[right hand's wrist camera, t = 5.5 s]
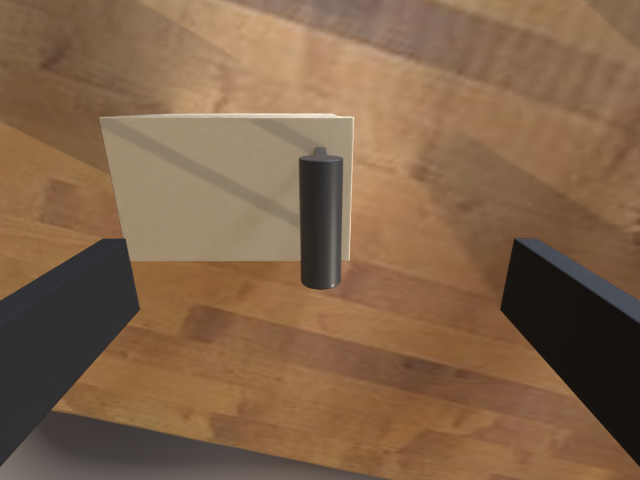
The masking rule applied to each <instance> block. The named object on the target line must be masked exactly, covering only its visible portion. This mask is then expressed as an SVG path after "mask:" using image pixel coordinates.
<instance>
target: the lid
mask: <svg viewBox="0 0 640 480" xmlns="http://www.w3.org/2000/svg"><path fill="white" fill-rule="evenodd" d="M99 121H100V126H101V130H102V135H103V140H104V145H105V150H106V155H107V160H108V165H109V170H110V175H111V180H112V185H113V190H114V195H115V200H116V205H117V210H118V215H119V220H120V225H121V230H122V234H123V239H126V243H127V248H128V253H129V258H130V261H301V282H302V284H303V285H304V286H306V287H308V288H311V289H318V290H324V289H330V288H334V287H336V286H337V285H339V283H340V281H341V261H349V260H350V228H351V196H352V163H353V131H354V118H353V117H100V118H99Z"/></svg>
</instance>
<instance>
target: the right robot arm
mask: <svg viewBox="0 0 640 480" xmlns="http://www.w3.org/2000/svg"><path fill="white" fill-rule="evenodd" d="M139 310H140V308H139V303H138V298H137V293H136V288H135V283H134V278H133V273H132V268H131V263H130V258H129V253H128V248H127V243H126V239H102V240H100V241H98V242H97V243H95V244H93V245H92V246H90V247H88V248H87V249H85V250H83V251H82V252H80V253H79V254H77V255H75V256H74V257H72V258H70V259H69V260H67V261H65V262H64V263H62V264H60V265H59V266H57V267H55V268H54V269H52V270H50V271H49V272H47V273H46V274H44V275H42V276H41V277H39V278H37V279H36V280H34V281H32V282H31V283H29V284H27V285H26V286H24V287H22V288H21V289H19V290H17V291H16V292H14V293H13V294H11V295H9V296H8V297H6V298H4V299H3V300H1V301H0V466H1V465H2V464H3V463H4V462H5V461H6V460H7V459H8V457H9V456H10V455H11V454H12V453H13V452H14V451H15V450H16V448H17V447H18V446H19V445H20V444H21V443H22V442H23V441H24V439H25V438H26V437H27V436H28V435H29V434H30V433H31V432H32V430H33V429H34V428H35V427H36V426H37V425H38V424H39V423H40V421H41V420H42V419H43V418H44V417H45V416H46V415H47V414H48V413H49V411H50V410H51V409H52V408H53V407H54V406H55V405H56V404H57V402H58V401H59V400H60V399H61V398H62V397H63V396H64V395H65V393H66V392H67V391H68V390H69V389H70V388H71V387H72V386H73V384H74V383H75V382H76V381H77V380H78V379H79V378H80V377H81V375H82V374H83V373H84V372H85V371H86V370H87V369H88V368H89V366H90V365H91V364H92V363H93V362H94V361H95V360H96V359H97V357H98V356H99V355H100V354H101V353H102V352H103V351H104V350H105V348H106V347H107V346H108V345H109V344H110V343H111V342H112V341H113V339H114V338H115V337H116V336H117V335H118V334H119V333H120V332H121V330H122V329H123V328H124V327H125V326H126V325H127V324H128V323H129V321H130V320H131V319H132V318H133V317H134V316H135V315H136V314H137V312H138V311H139ZM500 310H501V311H502V312H503V314H504V315H505V316H506V317H507V318H508V319H509V320H510V321H511V323H512V324H513V325H514V326H515V327H516V328H517V329H518V330H519V332H520V333H521V334H522V335H523V336H524V337H525V338H526V339H527V341H528V342H529V343H530V344H531V345H532V346H533V347H534V348H535V350H536V351H537V352H538V353H539V354H540V355H541V356H542V357H543V359H544V360H545V361H546V362H547V363H548V364H549V365H550V366H551V368H552V369H553V370H554V371H555V372H556V373H557V374H558V375H559V377H560V378H561V379H562V380H563V381H564V382H565V383H566V384H567V386H568V387H569V388H570V389H571V390H572V391H573V392H574V393H575V395H576V396H577V397H578V398H579V399H580V400H581V401H582V402H583V404H584V405H585V406H586V407H587V408H588V409H589V410H590V411H591V413H592V414H593V415H594V416H595V417H596V418H597V419H598V420H599V422H600V423H601V424H602V425H603V426H604V427H605V428H606V429H607V431H608V432H609V433H610V434H611V435H612V436H613V437H614V438H615V440H616V441H617V442H618V443H619V444H620V445H621V446H622V447H623V449H624V450H625V451H626V452H627V453H628V454H629V455H630V456H631V458H632V459H633V460H634V461H635V462H636V463H637V464H638V465H639V466H640V301H639V300H637V299H636V298H634V297H632V296H631V295H629V294H627V293H626V292H624V291H623V290H621V289H619V288H618V287H616V286H614V285H613V284H611V283H609V282H608V281H606V280H604V279H603V278H601V277H599V276H598V275H596V274H594V273H593V272H591V271H590V270H588V269H586V268H585V267H583V266H581V265H580V264H578V263H576V262H575V261H573V260H571V259H570V258H568V257H566V256H565V255H563V254H561V253H560V252H558V251H557V250H555V249H553V248H552V247H550V246H548V245H547V244H545V243H543V242H542V241H540V240H538V239H514V243H513V248H512V253H511V258H510V263H509V268H508V273H507V278H506V283H505V288H504V293H503V298H502V303H501V308H500Z"/></svg>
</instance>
